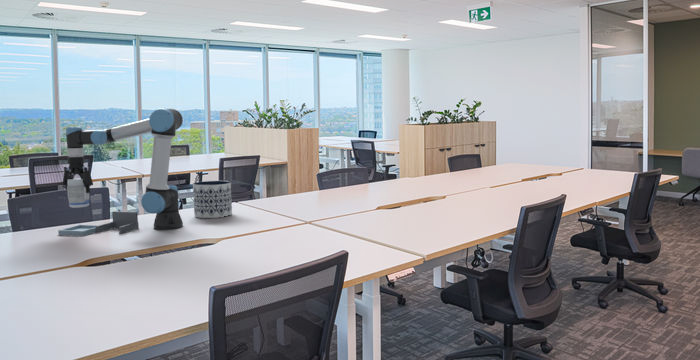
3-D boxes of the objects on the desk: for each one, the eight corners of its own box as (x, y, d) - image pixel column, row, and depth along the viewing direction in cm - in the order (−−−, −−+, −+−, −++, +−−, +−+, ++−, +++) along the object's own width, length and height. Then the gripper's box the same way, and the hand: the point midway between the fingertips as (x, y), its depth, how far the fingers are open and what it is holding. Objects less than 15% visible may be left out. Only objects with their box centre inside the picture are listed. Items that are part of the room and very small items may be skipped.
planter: (227, 218, 315) (225, 184, 313) (189, 219, 315) (187, 185, 313) (235, 212, 337) (234, 180, 335) (200, 212, 337) (199, 180, 335)
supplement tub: (90, 206, 278) (88, 179, 277) (70, 208, 273) (68, 180, 271) (87, 204, 286) (86, 177, 285) (68, 206, 281) (66, 178, 279)
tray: (103, 230, 287) (103, 225, 286) (83, 236, 272) (82, 231, 272) (80, 229, 290) (79, 224, 290) (58, 234, 276) (58, 230, 276)
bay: (114, 227, 294) (113, 211, 293) (138, 228, 290) (137, 212, 289) (96, 232, 280) (94, 215, 279) (121, 233, 276) (120, 216, 275)
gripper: (99, 155, 277) (101, 198, 280) (63, 155, 283) (66, 197, 286) (88, 156, 270) (91, 200, 273) (52, 156, 276) (55, 199, 278)
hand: (78, 198), depth 279 cm, fingers closed on supplement tub, 10 cm apart
